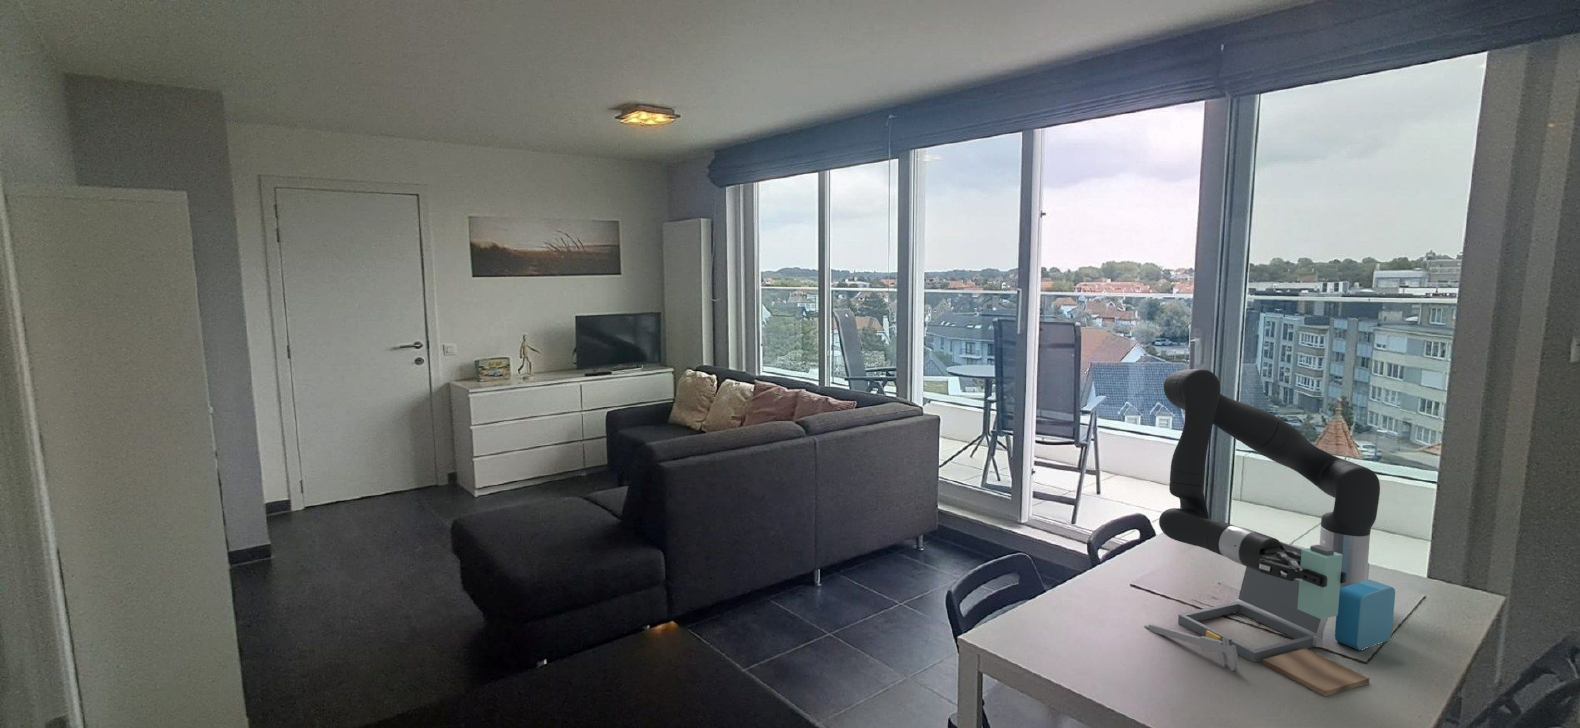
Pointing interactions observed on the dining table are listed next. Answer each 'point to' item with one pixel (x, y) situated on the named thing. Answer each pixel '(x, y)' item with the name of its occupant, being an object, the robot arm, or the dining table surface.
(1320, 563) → the block
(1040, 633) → the dining table surface
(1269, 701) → the dining table surface
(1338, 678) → the walnut board
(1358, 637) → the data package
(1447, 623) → the dining table surface
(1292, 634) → the equipment case
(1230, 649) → the caliper
